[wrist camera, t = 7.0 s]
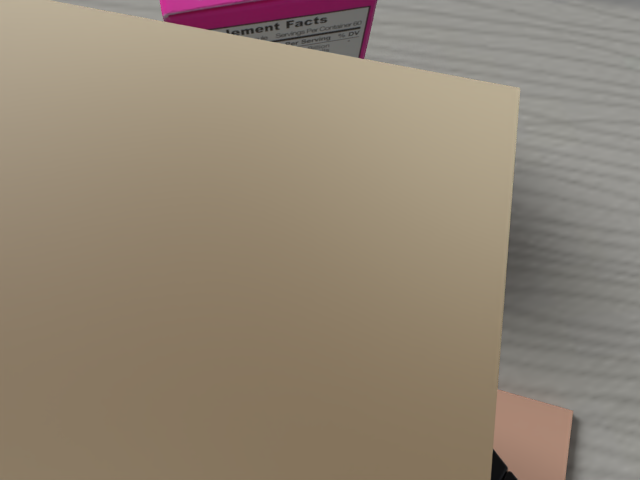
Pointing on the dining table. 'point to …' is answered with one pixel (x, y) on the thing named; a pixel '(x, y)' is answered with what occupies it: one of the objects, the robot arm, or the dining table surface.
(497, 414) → the terracotta tile
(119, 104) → the maple block
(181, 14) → the supplement box
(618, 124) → the dining table surface
